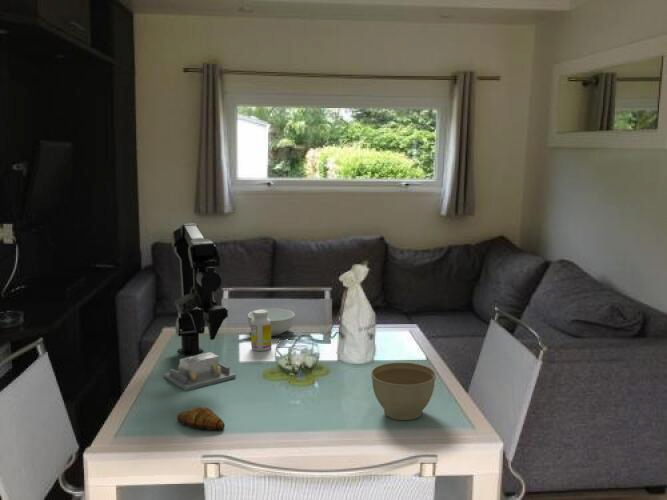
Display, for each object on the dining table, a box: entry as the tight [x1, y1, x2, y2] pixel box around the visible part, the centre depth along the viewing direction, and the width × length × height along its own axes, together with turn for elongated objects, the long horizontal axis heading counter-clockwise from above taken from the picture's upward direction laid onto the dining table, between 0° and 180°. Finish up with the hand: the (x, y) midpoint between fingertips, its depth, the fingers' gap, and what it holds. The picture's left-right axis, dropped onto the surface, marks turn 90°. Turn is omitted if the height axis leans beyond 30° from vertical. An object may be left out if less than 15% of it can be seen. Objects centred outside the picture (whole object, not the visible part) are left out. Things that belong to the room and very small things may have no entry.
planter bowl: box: [370, 361, 437, 421], centre depth 165 cm, size 16×16×11 cm
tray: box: [163, 361, 237, 392], centre depth 192 cm, size 14×16×4 cm
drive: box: [179, 351, 220, 380], centre depth 192 cm, size 5×10×5 cm, turn 130°
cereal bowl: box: [247, 308, 296, 337], centre depth 237 cm, size 17×17×7 cm
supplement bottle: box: [250, 309, 272, 352], centre depth 218 cm, size 7×7×13 cm
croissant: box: [176, 406, 225, 432], centre depth 159 cm, size 14×7×5 cm, turn 65°
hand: (204, 335), depth 193 cm, fingers open, 9 cm apart
